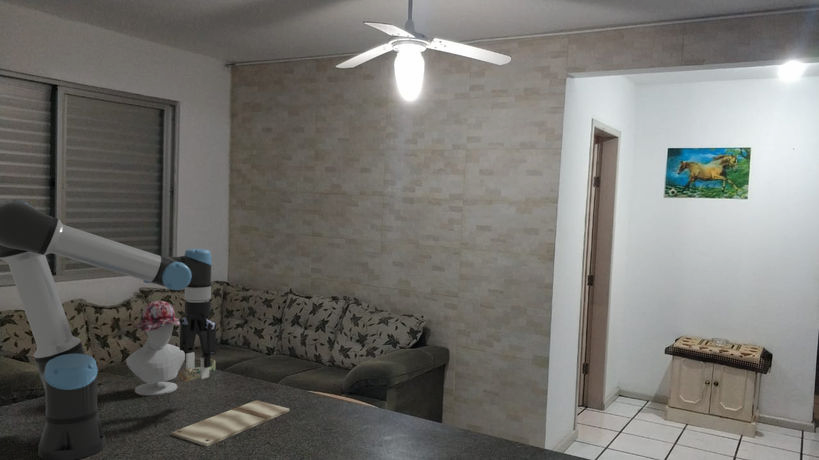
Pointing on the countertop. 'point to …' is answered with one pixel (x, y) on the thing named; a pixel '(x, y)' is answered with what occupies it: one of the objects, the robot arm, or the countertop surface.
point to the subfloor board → (230, 423)
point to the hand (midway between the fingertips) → (197, 375)
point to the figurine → (194, 372)
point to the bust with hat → (157, 351)
